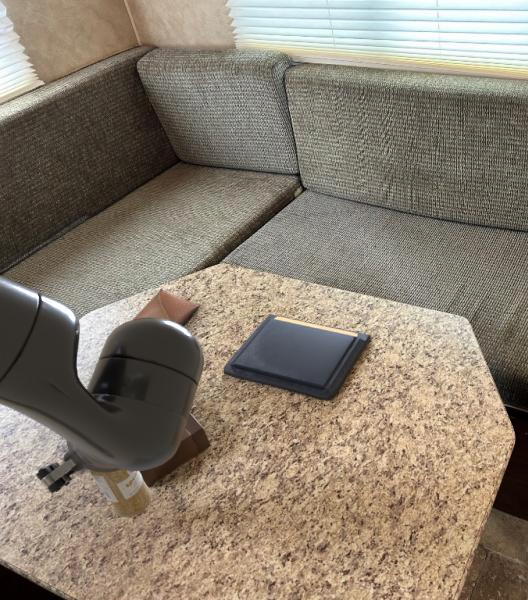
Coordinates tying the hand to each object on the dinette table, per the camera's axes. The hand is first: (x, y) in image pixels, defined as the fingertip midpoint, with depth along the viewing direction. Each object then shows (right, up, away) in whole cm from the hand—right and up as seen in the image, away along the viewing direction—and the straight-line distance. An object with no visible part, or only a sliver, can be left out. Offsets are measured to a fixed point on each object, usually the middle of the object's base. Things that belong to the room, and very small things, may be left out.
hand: (96, 449), depth 70 cm
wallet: (+19, +8, +29) cm, 35 cm away
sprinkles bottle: (+2, -8, +5) cm, 9 cm away
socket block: (-1, -2, +19) cm, 19 cm away
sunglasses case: (-7, +11, +36) cm, 38 cm away
